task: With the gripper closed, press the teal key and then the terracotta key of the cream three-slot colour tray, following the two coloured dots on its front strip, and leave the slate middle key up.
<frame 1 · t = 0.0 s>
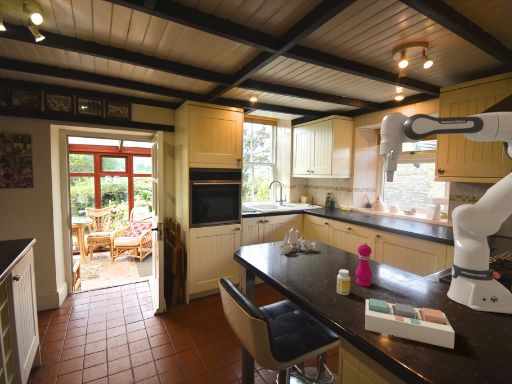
hand: (389, 182, 117), 48 cm above the kitchen island, tool pointing down, fingers open, 8 cm apart
terracotta key: (432, 317, 84), point 5 cm above the kitchen island, slide at 0.0 cm
supplement bottle: (343, 293, 113), on the kitchen island
pepper mill: (363, 284, 123), on the kitchen island
chinaware: (295, 251, 176), on the kitchen island
teal key: (378, 307, 91), point 5 cm above the kitchen island, slide at 0.0 cm
slate key: (404, 312, 87), point 5 cm above the kitchen island, slide at 0.0 cm
three-slot colour tray: (404, 328, 87), on the kitchen island
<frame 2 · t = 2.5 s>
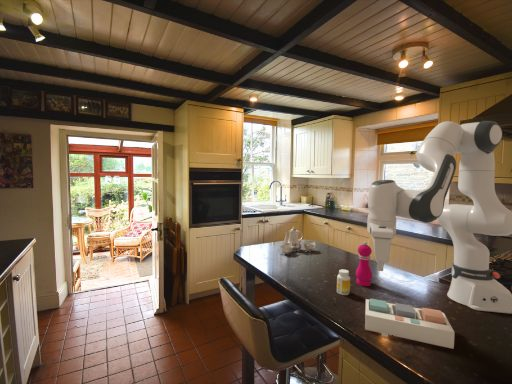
hand: (379, 267, 90), 19 cm above the kitchen island, tool pointing down, fingers open, 5 cm apart
nothing on the kitchen island moved.
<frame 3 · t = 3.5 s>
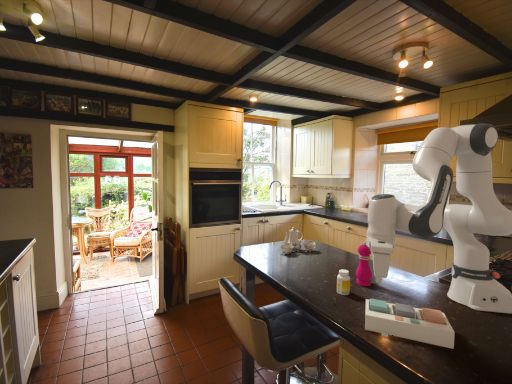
hand: (378, 281, 90), 14 cm above the kitchen island, tool pointing down, fingers closed
nothing on the kitchen island moved.
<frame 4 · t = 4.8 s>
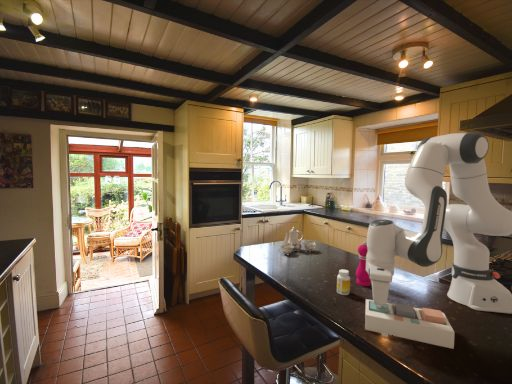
hand: (378, 306, 90), 5 cm above the kitchen island, tool pointing down, fingers closed, pressing on teal key
teal key: (378, 310, 91), point 4 cm above the kitchen island, slide at 1.2 cm, touching gripper
everything else where it was.
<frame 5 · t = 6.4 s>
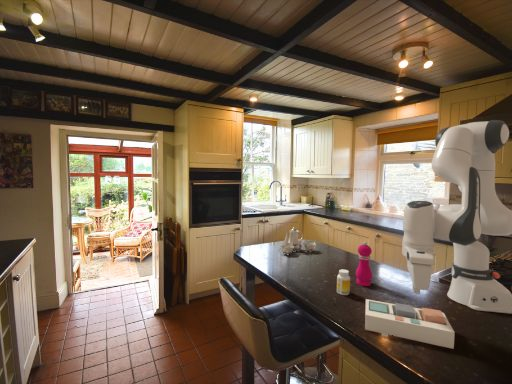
hand: (416, 291, 86), 12 cm above the kitchen island, tool pointing down, fingers closed
teal key: (378, 311, 91), point 4 cm above the kitchen island, slide at 1.5 cm
everything else where it was.
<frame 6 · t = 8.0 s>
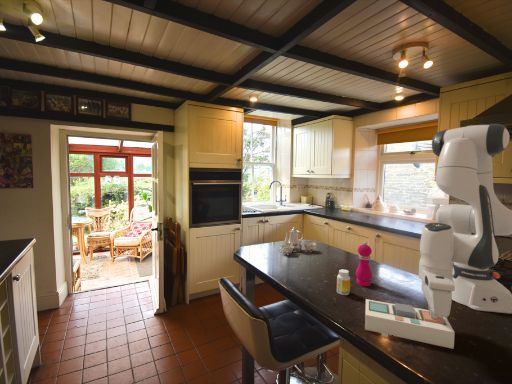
hand: (432, 316, 84), 5 cm above the kitchen island, tool pointing down, fingers closed, pressing on terracotta key
terracotta key: (432, 321, 84), point 4 cm above the kitchen island, slide at 1.2 cm, touching gripper
everything else where it was.
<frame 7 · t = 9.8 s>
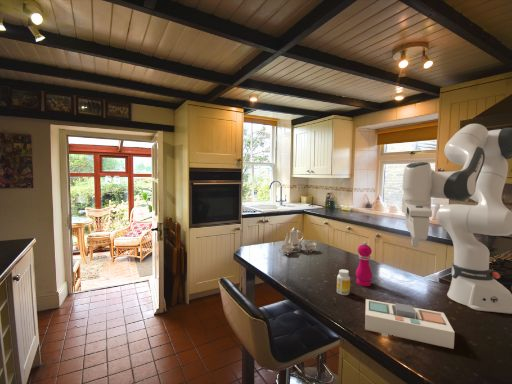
hand: (414, 246, 94), 25 cm above the kitchen island, tool pointing down, fingers closed
terracotta key: (432, 321, 84), point 4 cm above the kitchen island, slide at 1.5 cm
everything else where it was.
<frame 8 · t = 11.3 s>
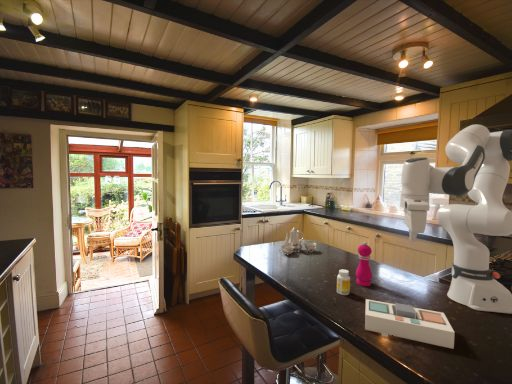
hand: (412, 240, 95), 27 cm above the kitchen island, tool pointing down, fingers closed
at the end: teal key slide at 1.5 cm; terracotta key slide at 1.5 cm; slate key slide at 0.0 cm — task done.
